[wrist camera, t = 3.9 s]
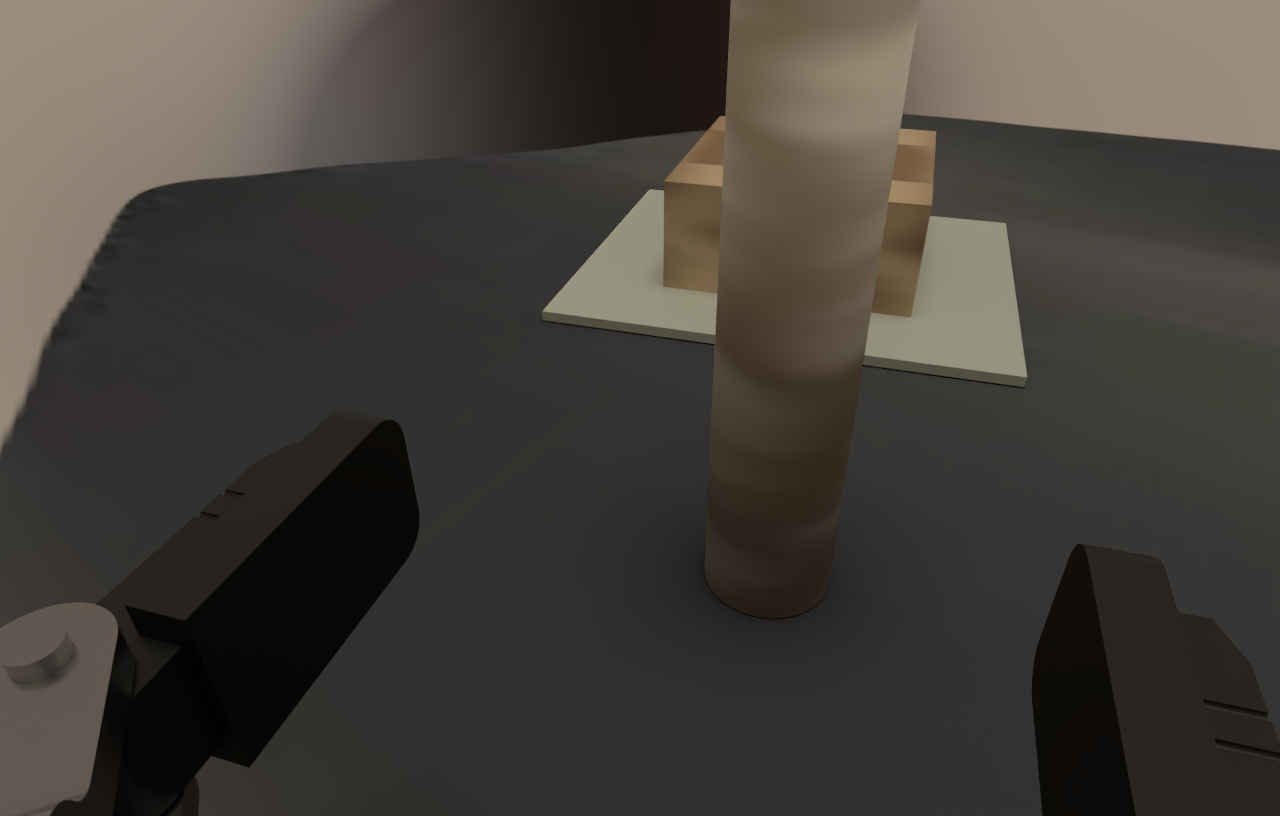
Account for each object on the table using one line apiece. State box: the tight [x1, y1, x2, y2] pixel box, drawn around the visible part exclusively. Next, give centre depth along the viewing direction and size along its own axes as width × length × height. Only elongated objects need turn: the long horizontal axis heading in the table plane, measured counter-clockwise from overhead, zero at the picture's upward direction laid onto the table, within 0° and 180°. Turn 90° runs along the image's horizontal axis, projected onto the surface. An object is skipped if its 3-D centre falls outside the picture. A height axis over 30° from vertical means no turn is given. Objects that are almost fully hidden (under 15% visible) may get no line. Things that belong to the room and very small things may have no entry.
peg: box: [704, 0, 920, 618], centre depth 18 cm, size 3×3×16 cm
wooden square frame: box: [663, 116, 936, 318], centre depth 37 cm, size 10×10×4 cm
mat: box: [542, 190, 1027, 387], centre depth 38 cm, size 18×15×1 cm
